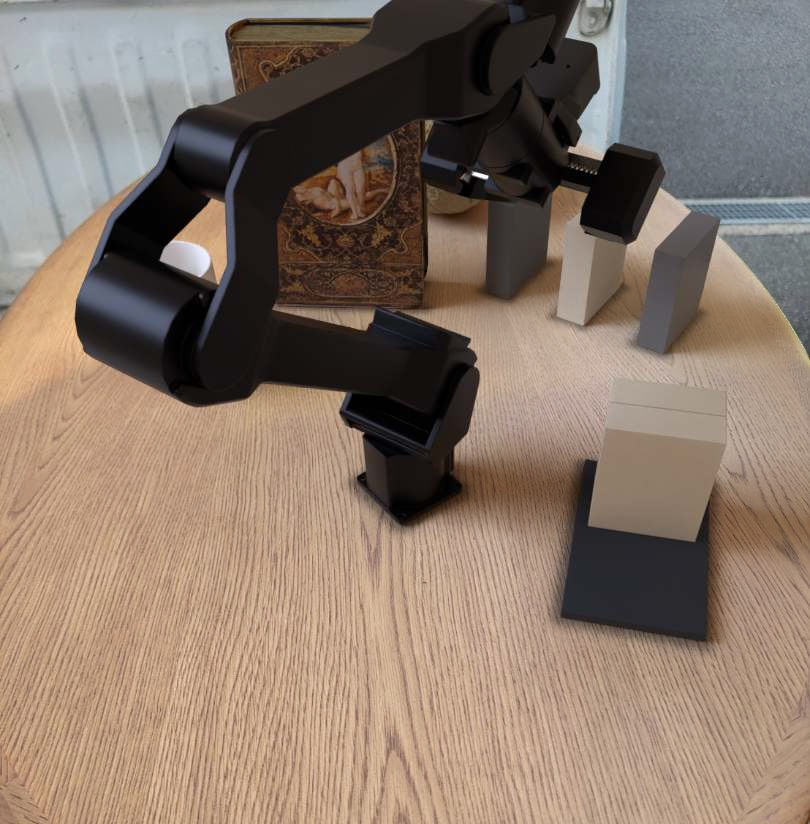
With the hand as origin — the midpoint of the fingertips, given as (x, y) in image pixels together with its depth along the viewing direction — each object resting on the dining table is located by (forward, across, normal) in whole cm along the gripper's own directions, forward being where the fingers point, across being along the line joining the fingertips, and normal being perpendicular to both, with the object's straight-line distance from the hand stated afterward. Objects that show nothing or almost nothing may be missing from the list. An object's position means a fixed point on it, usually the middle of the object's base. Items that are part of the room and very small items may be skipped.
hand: (564, 211), depth 74 cm
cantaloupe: (+22, +24, -2) cm, 32 cm away
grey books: (+15, 0, +4) cm, 16 cm away
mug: (-6, +29, +26) cm, 39 cm away
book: (+7, +22, +12) cm, 26 cm away
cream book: (+15, 0, +4) cm, 16 cm away
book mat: (-4, -18, +23) cm, 30 cm away
